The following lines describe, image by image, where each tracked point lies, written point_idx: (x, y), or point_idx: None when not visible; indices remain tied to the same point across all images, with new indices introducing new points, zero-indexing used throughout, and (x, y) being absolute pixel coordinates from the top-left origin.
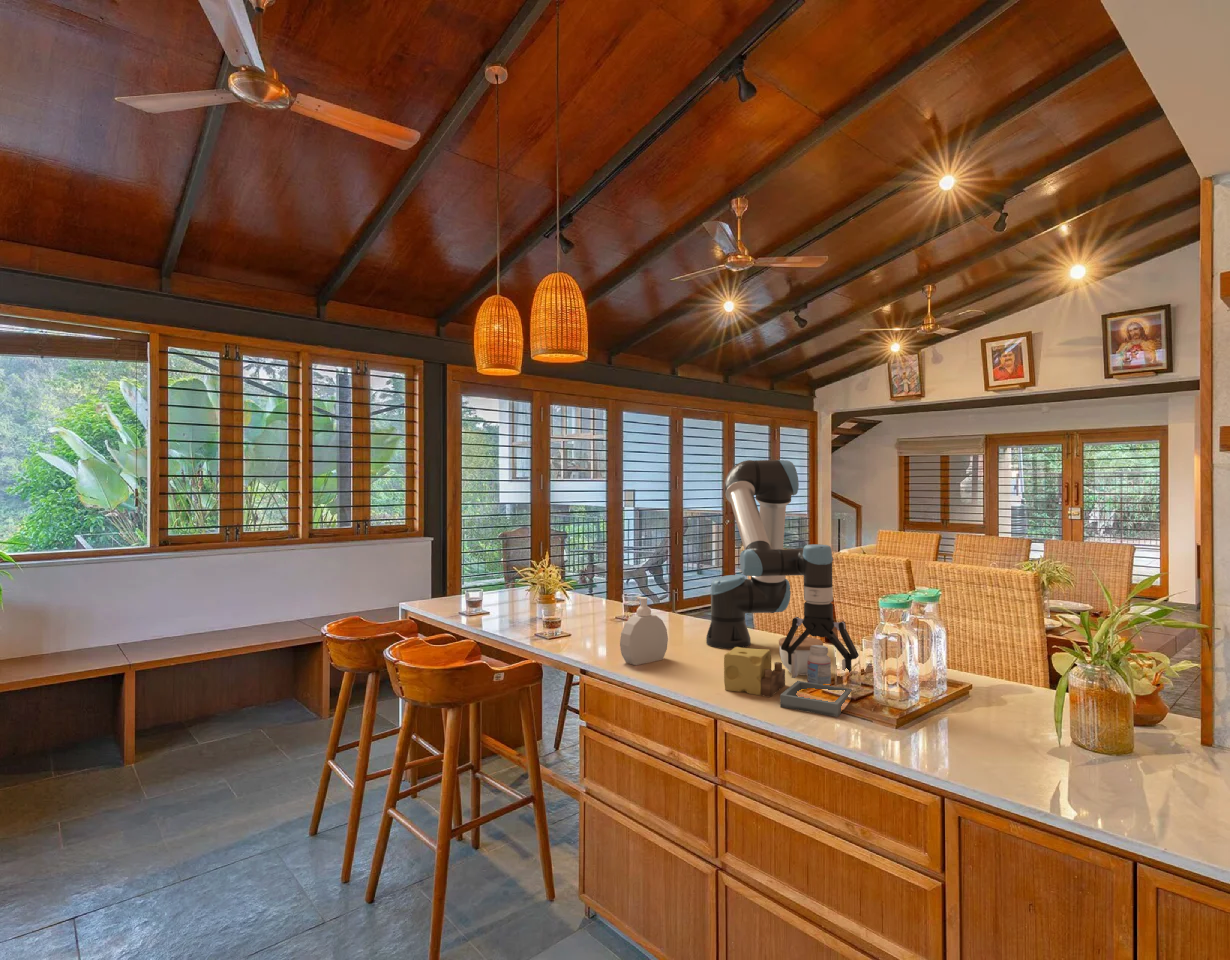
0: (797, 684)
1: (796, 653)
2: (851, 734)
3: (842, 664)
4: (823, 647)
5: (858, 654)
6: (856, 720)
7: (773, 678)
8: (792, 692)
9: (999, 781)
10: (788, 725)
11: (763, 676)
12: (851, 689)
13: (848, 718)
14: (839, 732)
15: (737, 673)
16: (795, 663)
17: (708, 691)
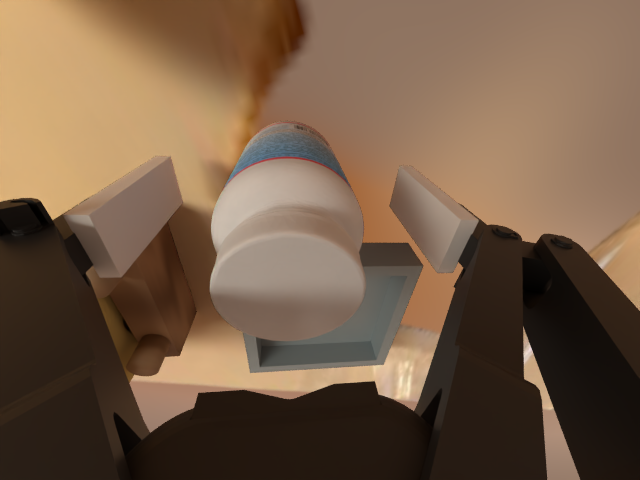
0: None
1: (100, 227)
2: (399, 376)
3: (428, 258)
4: (329, 290)
5: (578, 247)
6: (410, 336)
7: (171, 333)
8: None
9: (540, 393)
10: (302, 389)
11: (124, 327)
12: (421, 268)
13: (395, 335)
14: (381, 378)
15: None
16: (147, 217)
17: None
